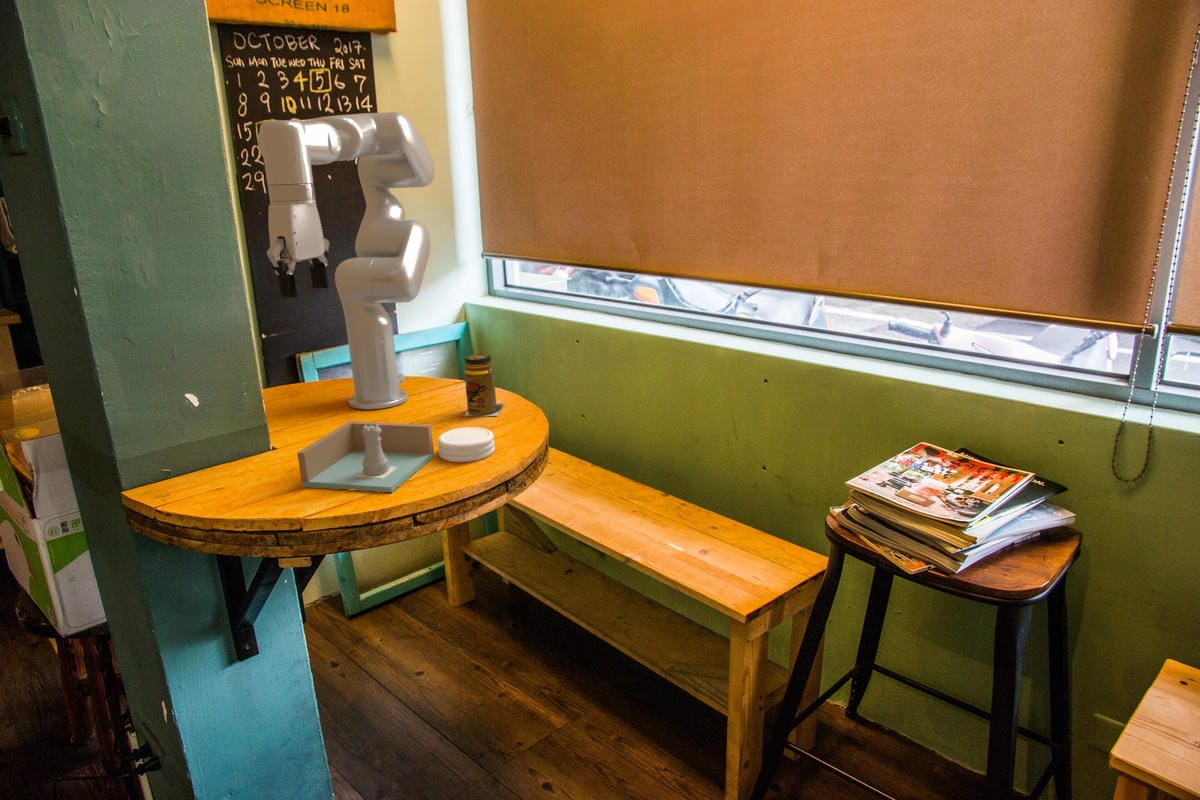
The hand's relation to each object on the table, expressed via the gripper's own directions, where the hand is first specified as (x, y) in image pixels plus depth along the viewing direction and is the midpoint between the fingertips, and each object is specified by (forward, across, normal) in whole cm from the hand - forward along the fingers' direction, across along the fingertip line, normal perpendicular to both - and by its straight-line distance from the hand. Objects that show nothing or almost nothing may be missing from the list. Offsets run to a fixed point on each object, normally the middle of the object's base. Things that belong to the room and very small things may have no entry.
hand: (306, 292), depth 141 cm
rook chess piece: (+27, +16, +19) cm, 37 cm away
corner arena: (+28, +14, +17) cm, 36 cm away
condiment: (+29, -21, +24) cm, 43 cm away
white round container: (+29, +3, +30) cm, 42 cm away
